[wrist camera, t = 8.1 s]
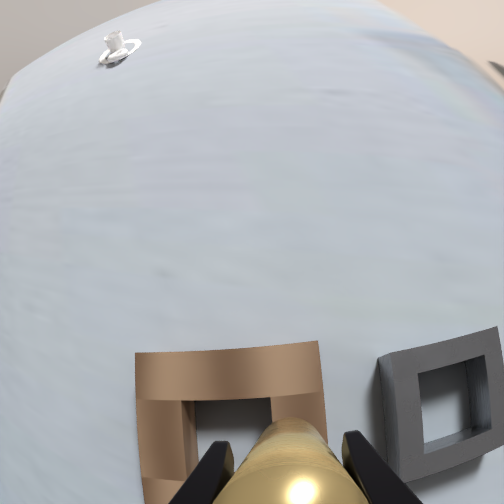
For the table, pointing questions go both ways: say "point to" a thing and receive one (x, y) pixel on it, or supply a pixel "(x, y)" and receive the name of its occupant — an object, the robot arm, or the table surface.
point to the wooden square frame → (215, 388)
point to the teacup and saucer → (117, 47)
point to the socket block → (409, 404)
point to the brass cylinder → (291, 470)
